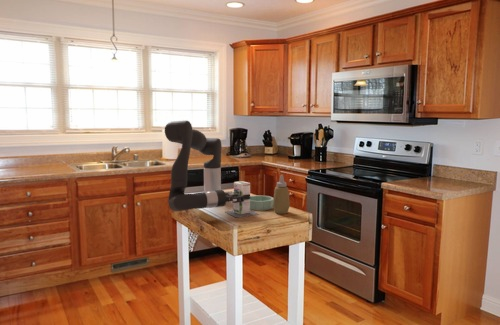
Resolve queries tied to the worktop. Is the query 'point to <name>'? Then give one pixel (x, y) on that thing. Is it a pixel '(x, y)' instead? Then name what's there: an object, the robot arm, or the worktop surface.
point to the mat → (241, 214)
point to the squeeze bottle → (281, 197)
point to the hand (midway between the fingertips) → (246, 195)
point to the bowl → (261, 202)
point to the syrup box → (240, 189)
